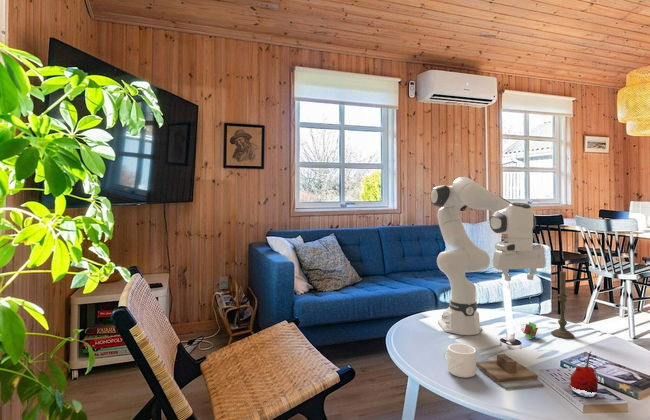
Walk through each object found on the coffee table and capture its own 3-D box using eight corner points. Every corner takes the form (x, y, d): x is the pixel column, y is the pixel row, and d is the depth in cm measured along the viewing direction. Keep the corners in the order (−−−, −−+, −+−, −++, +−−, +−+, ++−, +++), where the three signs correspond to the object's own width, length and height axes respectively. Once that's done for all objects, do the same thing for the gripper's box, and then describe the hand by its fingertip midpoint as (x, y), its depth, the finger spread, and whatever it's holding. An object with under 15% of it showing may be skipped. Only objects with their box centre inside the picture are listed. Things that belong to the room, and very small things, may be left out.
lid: (477, 365, 143) (477, 352, 143) (513, 362, 145) (513, 349, 145) (498, 382, 130) (498, 367, 130) (537, 378, 132) (537, 363, 132)
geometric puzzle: (534, 329, 178) (525, 316, 176) (546, 334, 171) (537, 321, 170) (524, 339, 176) (515, 327, 175) (535, 345, 170) (526, 332, 168)
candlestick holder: (579, 337, 173) (579, 271, 172) (564, 340, 169) (565, 272, 169) (560, 330, 181) (560, 267, 180) (546, 333, 178) (546, 269, 177)
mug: (436, 371, 140) (436, 347, 140) (449, 363, 147) (449, 339, 147) (467, 382, 131) (467, 356, 131) (480, 373, 139) (480, 348, 138)
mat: (473, 363, 146) (473, 361, 146) (506, 361, 148) (506, 359, 148) (505, 389, 127) (505, 387, 127) (543, 385, 129) (543, 383, 129)
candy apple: (589, 388, 126) (590, 344, 126) (603, 400, 119) (604, 352, 119) (565, 388, 127) (566, 343, 126) (578, 399, 120) (578, 352, 119)
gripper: (538, 242, 152) (537, 277, 153) (491, 244, 150) (490, 279, 151) (550, 245, 146) (549, 280, 147) (500, 246, 143) (499, 283, 144)
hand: (519, 280), depth 149 cm, fingers open, 8 cm apart
